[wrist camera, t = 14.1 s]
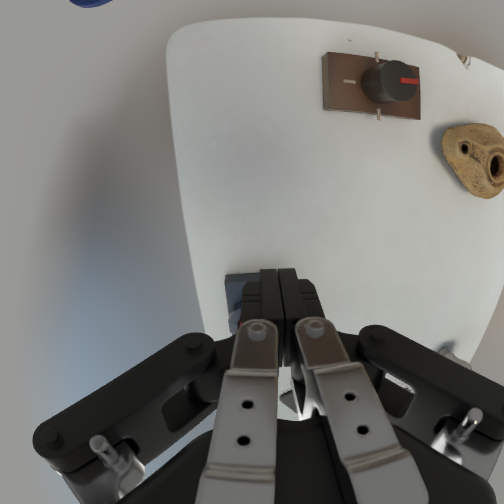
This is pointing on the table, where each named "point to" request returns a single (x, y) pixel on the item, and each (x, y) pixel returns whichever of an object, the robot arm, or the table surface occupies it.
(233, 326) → the button box
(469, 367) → the lightbulb
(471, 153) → the oil lamp
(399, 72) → the knob
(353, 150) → the table surface
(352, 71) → the panel
